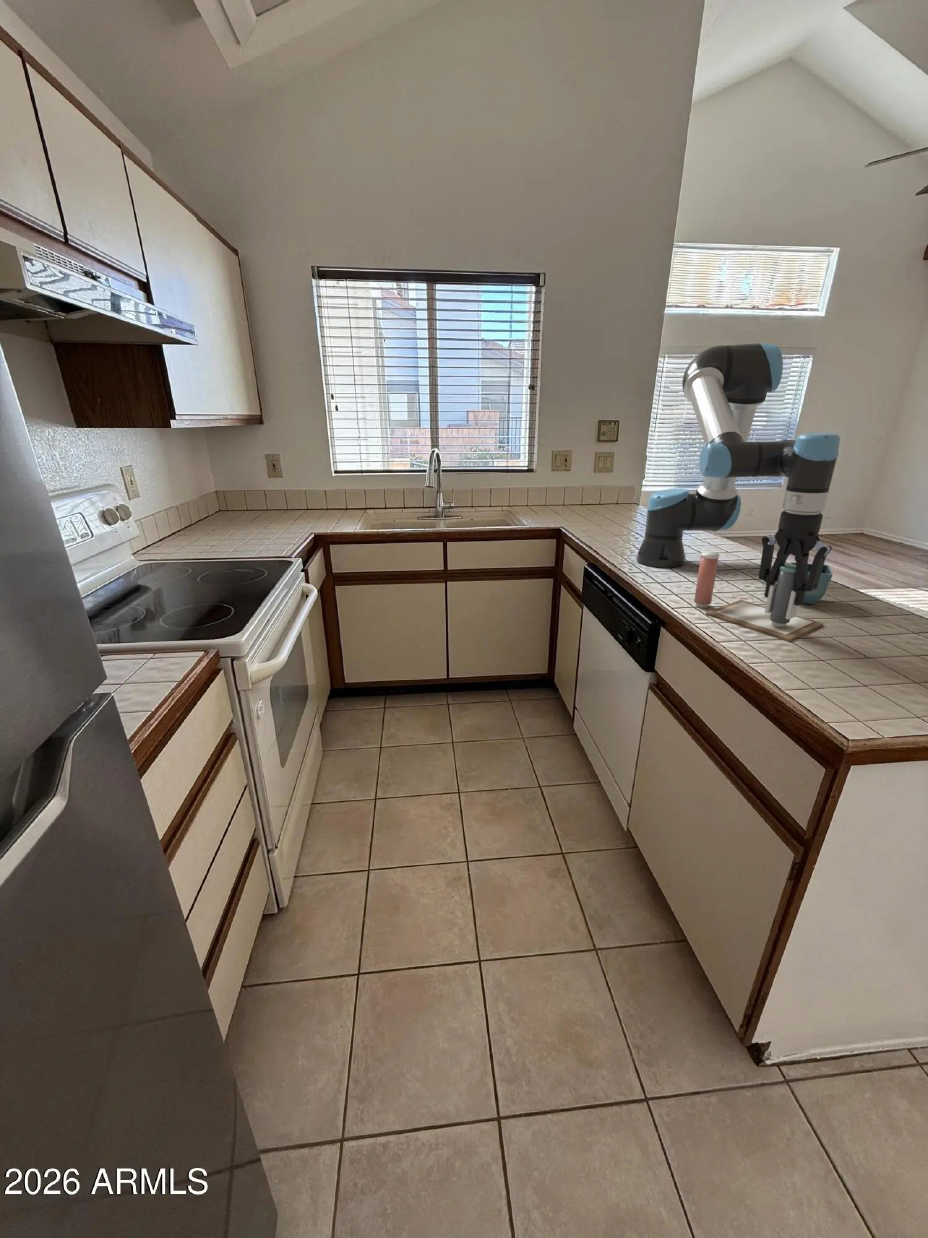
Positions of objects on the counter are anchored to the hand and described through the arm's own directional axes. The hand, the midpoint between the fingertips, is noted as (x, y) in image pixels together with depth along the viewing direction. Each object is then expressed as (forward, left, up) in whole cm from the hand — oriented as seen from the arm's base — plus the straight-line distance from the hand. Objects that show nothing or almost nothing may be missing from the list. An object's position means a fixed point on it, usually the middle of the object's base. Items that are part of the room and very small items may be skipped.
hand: (779, 614), depth 117 cm
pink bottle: (-19, 0, -4) cm, 19 cm away
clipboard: (-5, +3, -4) cm, 7 cm away
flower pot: (-6, +24, -4) cm, 25 cm away
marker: (0, 0, -3) cm, 3 cm away
